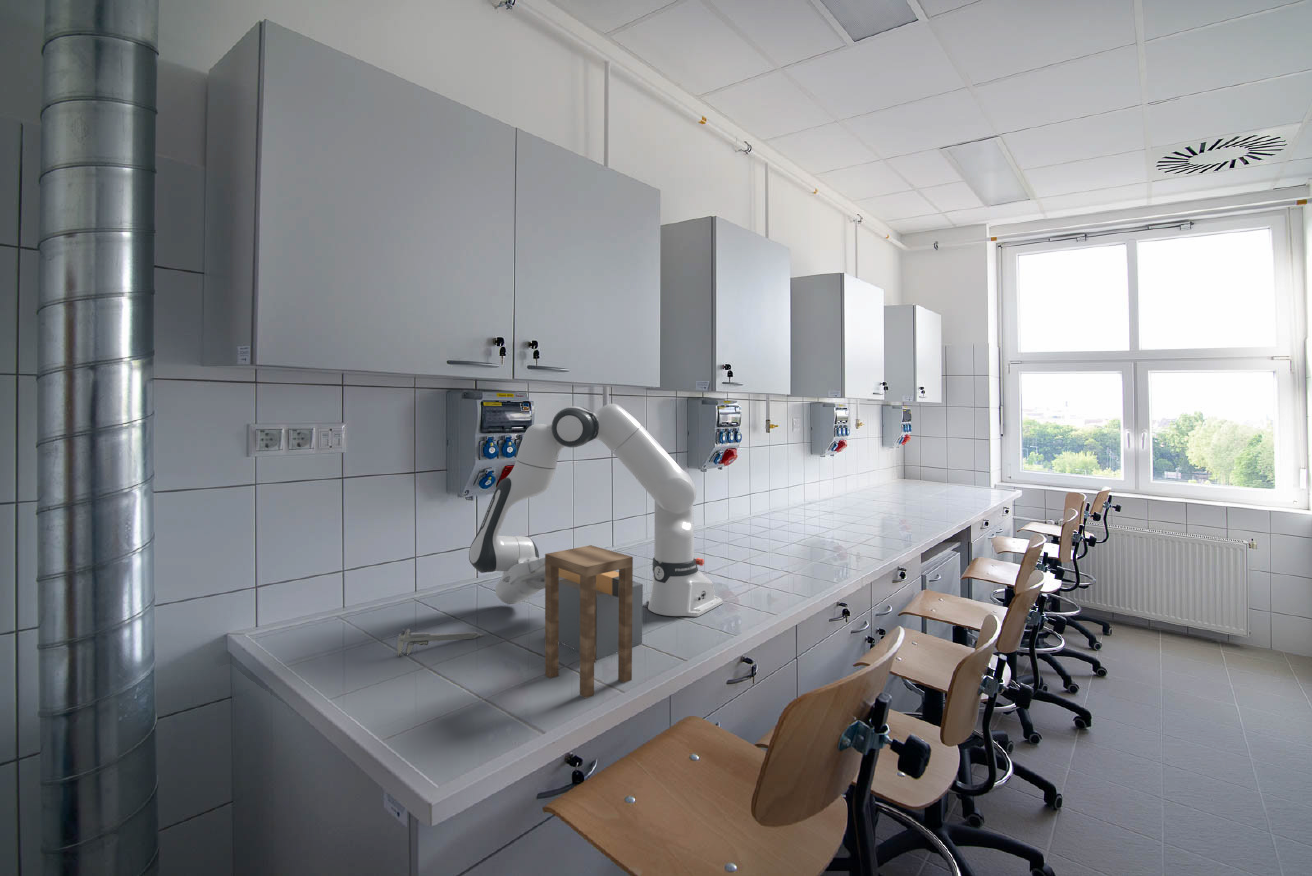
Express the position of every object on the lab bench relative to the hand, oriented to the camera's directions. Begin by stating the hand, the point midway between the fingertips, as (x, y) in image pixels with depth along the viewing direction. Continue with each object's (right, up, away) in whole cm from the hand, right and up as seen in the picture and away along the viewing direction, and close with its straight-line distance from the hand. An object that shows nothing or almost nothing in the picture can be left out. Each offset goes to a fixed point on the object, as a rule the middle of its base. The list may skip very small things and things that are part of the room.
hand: (560, 557), depth 159 cm
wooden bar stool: (+10, -20, -26) cm, 34 cm away
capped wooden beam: (+9, -5, -9) cm, 13 cm away
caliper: (-27, -19, -10) cm, 34 cm away
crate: (+10, -19, -6) cm, 22 cm away
